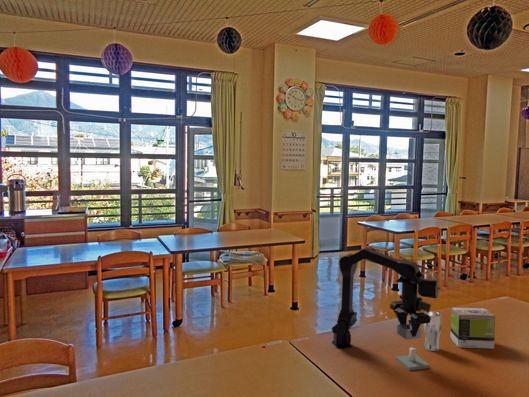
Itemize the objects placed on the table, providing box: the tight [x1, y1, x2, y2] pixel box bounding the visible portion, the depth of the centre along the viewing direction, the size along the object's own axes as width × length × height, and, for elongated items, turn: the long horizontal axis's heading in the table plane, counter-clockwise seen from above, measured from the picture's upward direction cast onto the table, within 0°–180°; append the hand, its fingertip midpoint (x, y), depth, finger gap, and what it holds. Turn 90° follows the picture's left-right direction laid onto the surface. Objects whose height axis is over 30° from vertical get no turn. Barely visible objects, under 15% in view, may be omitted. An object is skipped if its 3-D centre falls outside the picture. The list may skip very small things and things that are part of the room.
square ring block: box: [396, 322, 422, 341], centre depth 161 cm, size 6×6×4 cm
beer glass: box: [423, 310, 443, 352], centre depth 175 cm, size 7×7×15 cm
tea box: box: [450, 306, 496, 350], centre depth 179 cm, size 15×10×15 cm, turn 84°
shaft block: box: [395, 347, 430, 371], centre depth 161 cm, size 9×9×6 cm
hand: (409, 333), depth 161 cm, fingers closed on square ring block, 6 cm apart
